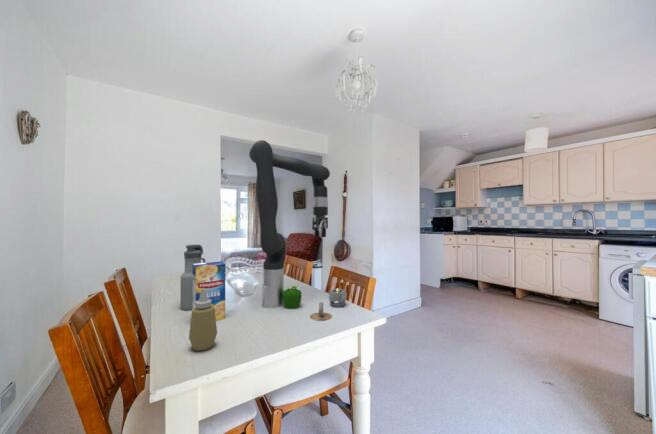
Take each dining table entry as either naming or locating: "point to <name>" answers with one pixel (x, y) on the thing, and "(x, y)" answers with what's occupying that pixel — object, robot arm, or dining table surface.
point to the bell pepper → (291, 298)
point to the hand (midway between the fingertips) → (320, 237)
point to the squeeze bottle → (203, 324)
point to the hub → (337, 304)
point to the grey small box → (337, 295)
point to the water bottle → (189, 274)
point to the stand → (321, 314)
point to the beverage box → (210, 285)
